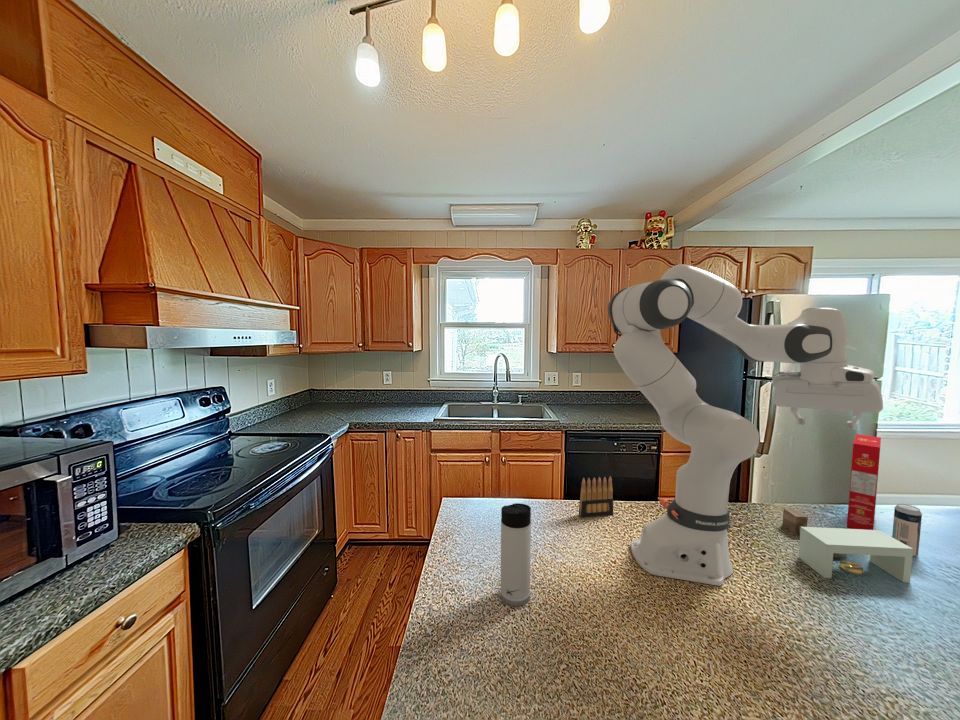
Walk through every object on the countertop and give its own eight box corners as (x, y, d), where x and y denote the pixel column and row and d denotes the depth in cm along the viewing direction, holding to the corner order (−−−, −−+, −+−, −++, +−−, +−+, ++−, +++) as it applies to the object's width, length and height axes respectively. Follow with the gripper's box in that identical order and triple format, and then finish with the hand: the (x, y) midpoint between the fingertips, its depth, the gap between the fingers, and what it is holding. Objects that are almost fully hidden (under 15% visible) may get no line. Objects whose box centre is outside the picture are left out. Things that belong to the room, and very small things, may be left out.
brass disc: (849, 575, 88) (849, 570, 88) (835, 564, 92) (835, 560, 92) (868, 576, 88) (868, 571, 88) (852, 565, 92) (853, 561, 92)
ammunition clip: (581, 517, 115) (582, 479, 114) (578, 514, 117) (579, 476, 116) (613, 514, 117) (614, 477, 116) (610, 511, 119) (611, 474, 118)
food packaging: (850, 511, 119) (856, 434, 118) (874, 517, 116) (881, 437, 114) (846, 527, 109) (853, 443, 108) (872, 535, 106) (880, 447, 104)
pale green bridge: (824, 577, 87) (826, 544, 86) (798, 557, 95) (800, 526, 94) (910, 582, 85) (913, 548, 85) (876, 561, 93) (878, 530, 93)
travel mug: (511, 612, 76) (512, 516, 75) (495, 592, 82) (495, 502, 80) (536, 601, 79) (538, 509, 77) (519, 583, 85) (520, 496, 83)
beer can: (924, 558, 94) (928, 512, 94) (901, 556, 95) (905, 510, 95) (907, 548, 99) (911, 503, 98) (885, 545, 100) (889, 502, 99)
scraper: (820, 556, 95) (822, 537, 95) (777, 524, 111) (778, 508, 111) (846, 557, 95) (848, 538, 94) (798, 525, 111) (799, 508, 110)
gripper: (768, 373, 100) (770, 424, 101) (880, 375, 85) (882, 435, 86) (775, 370, 104) (777, 419, 105) (883, 371, 89) (884, 428, 90)
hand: (825, 426), depth 95 cm, fingers open, 8 cm apart
